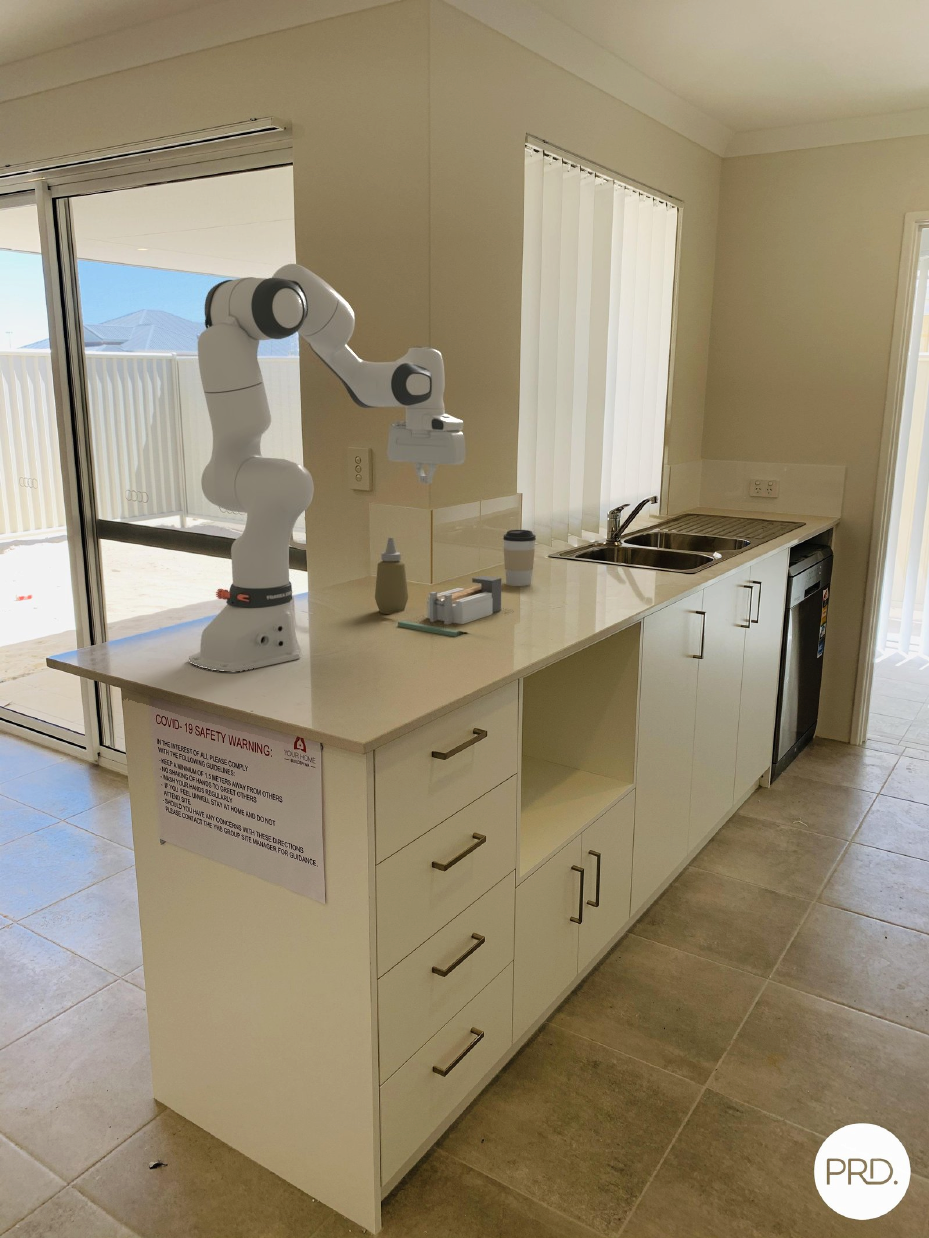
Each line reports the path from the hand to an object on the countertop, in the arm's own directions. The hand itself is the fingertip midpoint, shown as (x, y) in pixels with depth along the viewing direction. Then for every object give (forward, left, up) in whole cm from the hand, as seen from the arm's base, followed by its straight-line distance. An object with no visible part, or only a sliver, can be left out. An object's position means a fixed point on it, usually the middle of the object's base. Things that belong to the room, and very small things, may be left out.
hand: (425, 483), depth 216 cm
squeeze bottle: (-3, +8, -31) cm, 32 cm away
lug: (+9, -12, -30) cm, 33 cm away
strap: (0, -10, -26) cm, 28 cm away
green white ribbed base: (-1, -10, -31) cm, 33 cm away
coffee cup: (+45, +2, -31) cm, 55 cm away
